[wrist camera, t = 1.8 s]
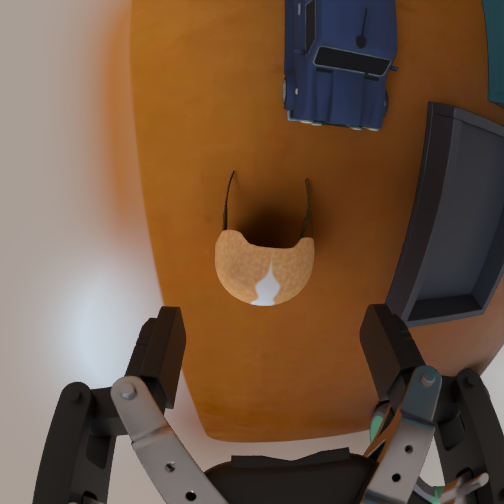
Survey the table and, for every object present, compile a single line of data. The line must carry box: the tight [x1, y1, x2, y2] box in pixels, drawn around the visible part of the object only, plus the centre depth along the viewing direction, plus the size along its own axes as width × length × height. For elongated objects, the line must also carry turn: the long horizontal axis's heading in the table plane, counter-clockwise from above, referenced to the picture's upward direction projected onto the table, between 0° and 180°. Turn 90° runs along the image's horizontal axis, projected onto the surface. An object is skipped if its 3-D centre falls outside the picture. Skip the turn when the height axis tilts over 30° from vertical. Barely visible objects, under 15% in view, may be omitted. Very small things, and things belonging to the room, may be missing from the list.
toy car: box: [283, 0, 399, 131], centre depth 10 cm, size 6×12×6 cm, turn 179°
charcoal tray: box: [385, 102, 504, 328], centre depth 18 cm, size 18×12×3 cm, turn 0°
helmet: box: [215, 170, 314, 306], centre depth 17 cm, size 6×7×8 cm
